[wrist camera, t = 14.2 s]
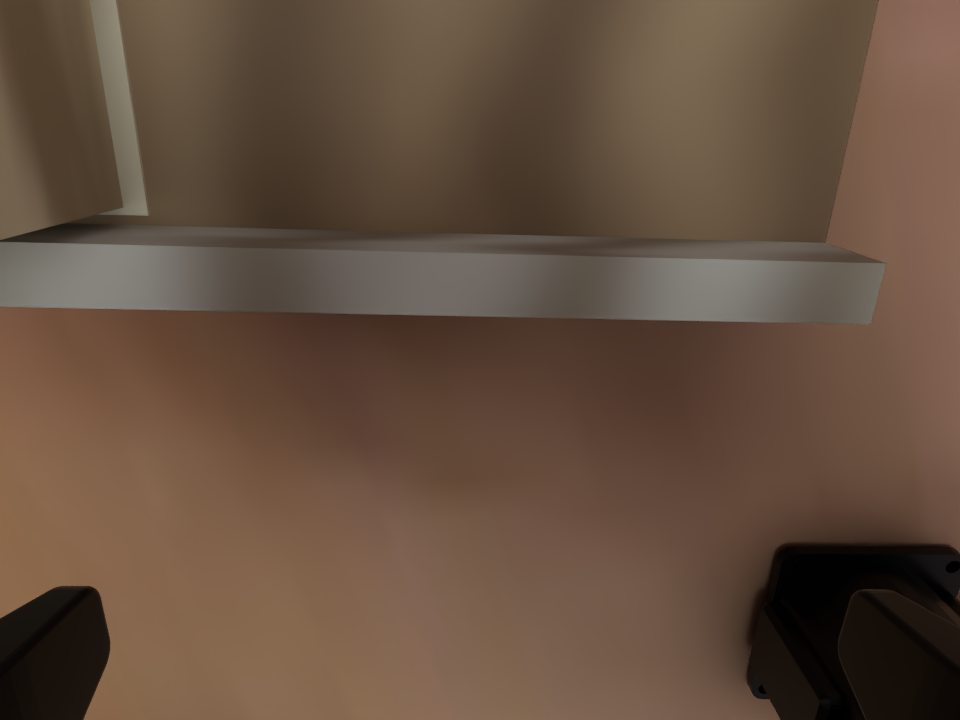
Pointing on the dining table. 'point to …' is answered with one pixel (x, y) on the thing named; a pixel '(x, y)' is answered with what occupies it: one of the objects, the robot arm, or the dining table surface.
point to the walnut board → (469, 161)
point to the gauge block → (52, 118)
